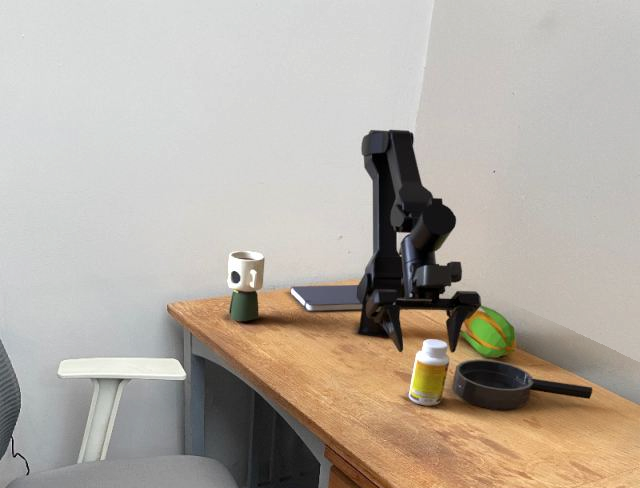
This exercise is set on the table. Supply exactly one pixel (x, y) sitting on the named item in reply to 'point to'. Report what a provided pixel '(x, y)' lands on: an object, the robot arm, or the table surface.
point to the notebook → (327, 297)
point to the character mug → (245, 284)
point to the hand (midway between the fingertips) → (427, 351)
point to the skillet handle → (562, 388)
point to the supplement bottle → (429, 373)
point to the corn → (490, 333)
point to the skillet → (492, 384)
